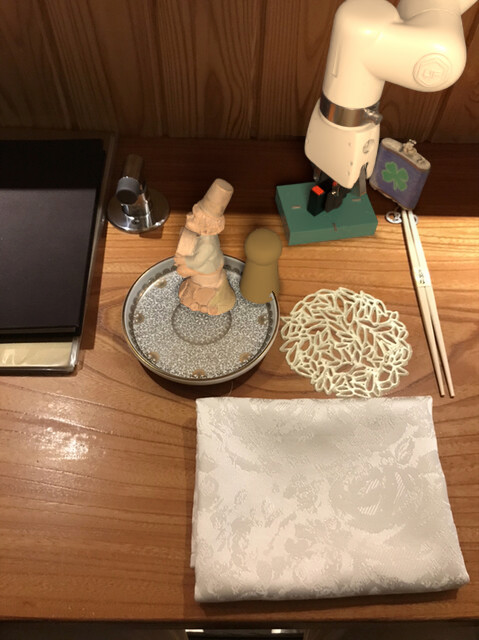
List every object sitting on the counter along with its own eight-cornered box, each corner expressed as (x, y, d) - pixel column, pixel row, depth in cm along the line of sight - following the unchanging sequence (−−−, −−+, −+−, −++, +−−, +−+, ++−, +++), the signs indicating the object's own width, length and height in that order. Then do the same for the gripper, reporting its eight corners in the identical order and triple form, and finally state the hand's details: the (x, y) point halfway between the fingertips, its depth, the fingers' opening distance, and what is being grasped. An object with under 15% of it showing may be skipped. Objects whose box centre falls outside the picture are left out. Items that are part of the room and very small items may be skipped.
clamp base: (355, 187, 95) (359, 173, 92) (375, 238, 89) (379, 224, 86) (274, 196, 93) (275, 182, 91) (289, 248, 88) (291, 235, 85)
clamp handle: (338, 190, 90) (343, 168, 86) (346, 197, 89) (352, 174, 85) (306, 210, 88) (310, 188, 84) (314, 217, 87) (318, 195, 83)
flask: (365, 183, 95) (380, 132, 86) (376, 175, 97) (392, 123, 88) (409, 213, 92) (430, 163, 83) (419, 204, 93) (441, 154, 84)
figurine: (238, 272, 85) (241, 173, 68) (234, 320, 80) (237, 225, 63) (179, 269, 85) (168, 168, 68) (172, 316, 80) (158, 220, 63)
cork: (233, 295, 82) (234, 247, 73) (247, 265, 86) (250, 216, 76) (271, 309, 81) (278, 262, 72) (285, 278, 84) (293, 229, 75)
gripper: (414, 123, 71) (379, 222, 87) (327, 62, 77) (310, 164, 93) (372, 148, 68) (345, 245, 84) (287, 82, 75) (276, 184, 90)
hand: (326, 202), depth 88 cm, fingers closed on clamp handle, 2 cm apart
